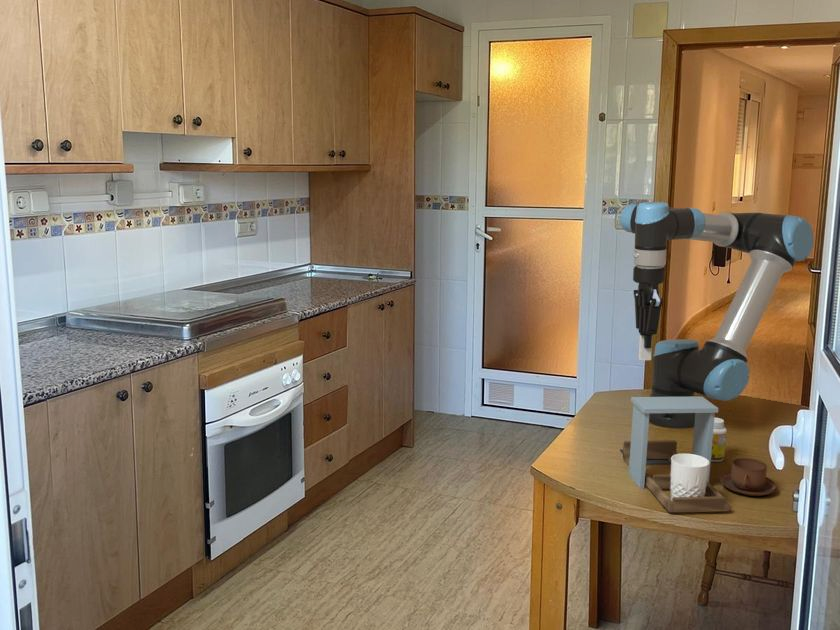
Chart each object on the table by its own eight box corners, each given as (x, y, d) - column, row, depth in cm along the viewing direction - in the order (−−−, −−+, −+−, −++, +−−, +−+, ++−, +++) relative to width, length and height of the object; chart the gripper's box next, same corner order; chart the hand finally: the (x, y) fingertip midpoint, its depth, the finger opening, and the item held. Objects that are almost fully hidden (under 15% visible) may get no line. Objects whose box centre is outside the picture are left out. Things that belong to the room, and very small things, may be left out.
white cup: (705, 498, 185) (709, 456, 183) (705, 513, 177) (709, 468, 175) (668, 493, 187) (671, 451, 185) (666, 507, 180) (670, 463, 178)
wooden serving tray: (622, 457, 207) (623, 441, 206) (673, 456, 208) (675, 440, 207) (669, 512, 176) (670, 493, 175) (728, 510, 177) (730, 491, 176)
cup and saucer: (781, 502, 184) (784, 476, 183) (724, 498, 186) (726, 471, 184) (768, 481, 195) (771, 456, 194) (714, 477, 197) (717, 452, 196)
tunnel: (625, 474, 198) (631, 397, 194) (695, 473, 199) (702, 396, 195) (638, 489, 189) (644, 409, 185) (711, 488, 190) (718, 408, 187)
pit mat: (619, 450, 213) (620, 449, 213) (658, 449, 214) (658, 448, 214) (632, 465, 204) (632, 464, 203) (672, 464, 204) (672, 463, 204)
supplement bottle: (695, 456, 210) (698, 417, 208) (712, 453, 212) (716, 415, 210) (711, 464, 205) (714, 424, 203) (728, 461, 207) (732, 421, 205)
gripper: (624, 262, 210) (620, 353, 215) (645, 270, 197) (640, 367, 202) (653, 261, 211) (648, 352, 216) (675, 269, 198) (669, 365, 203)
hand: (644, 359), depth 209 cm, fingers closed
